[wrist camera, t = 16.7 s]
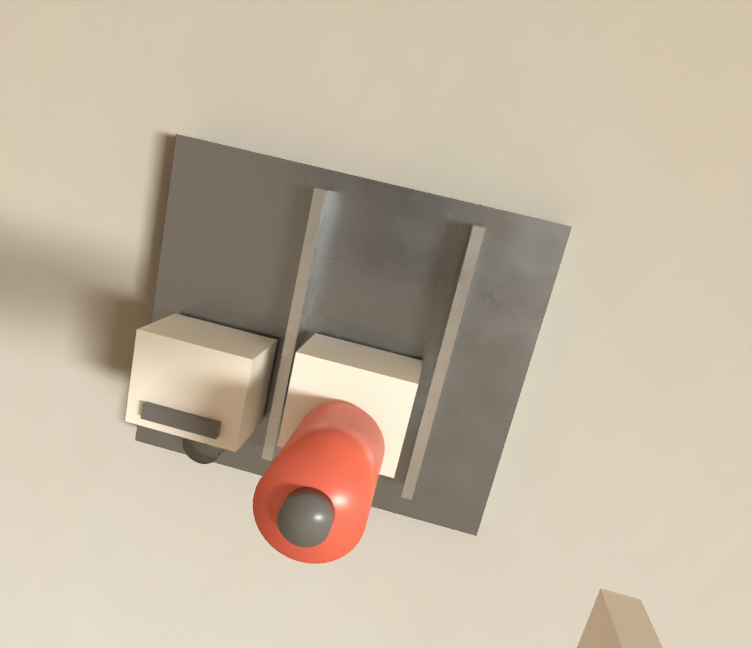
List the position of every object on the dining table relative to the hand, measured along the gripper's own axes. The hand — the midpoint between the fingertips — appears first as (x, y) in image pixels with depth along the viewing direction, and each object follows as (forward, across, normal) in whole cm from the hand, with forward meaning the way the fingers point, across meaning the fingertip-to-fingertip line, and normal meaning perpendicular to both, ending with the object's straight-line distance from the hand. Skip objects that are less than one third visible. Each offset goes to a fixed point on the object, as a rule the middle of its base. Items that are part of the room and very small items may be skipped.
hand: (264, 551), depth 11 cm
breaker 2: (+19, 0, -4) cm, 20 cm away
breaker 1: (+19, -8, -5) cm, 21 cm away
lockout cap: (+15, 0, -5) cm, 16 cm away
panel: (+22, -2, -2) cm, 22 cm away
